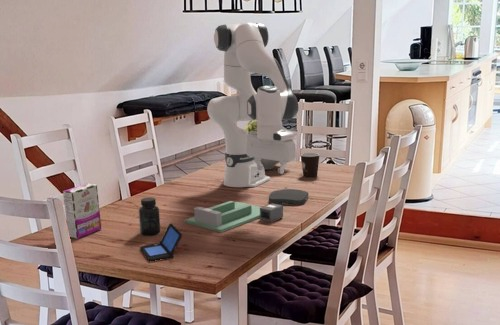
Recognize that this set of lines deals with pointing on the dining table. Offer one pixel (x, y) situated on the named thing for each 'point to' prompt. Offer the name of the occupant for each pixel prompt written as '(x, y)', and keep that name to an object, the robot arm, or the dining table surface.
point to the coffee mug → (310, 164)
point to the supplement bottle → (149, 217)
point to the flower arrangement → (265, 162)
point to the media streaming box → (288, 197)
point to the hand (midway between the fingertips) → (270, 171)
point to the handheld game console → (163, 245)
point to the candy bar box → (82, 210)
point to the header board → (232, 223)
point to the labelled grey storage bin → (271, 212)
